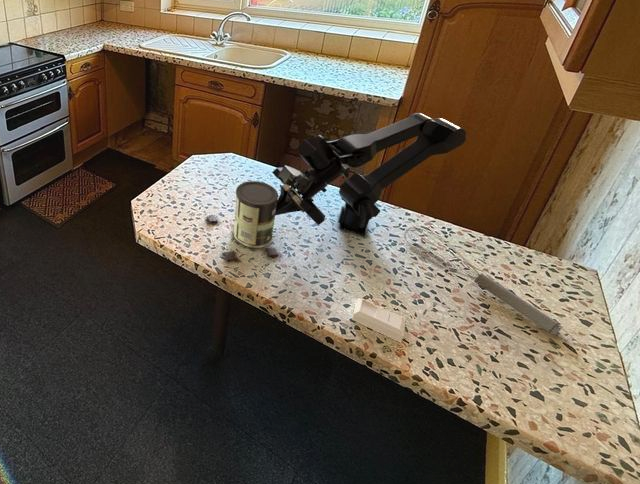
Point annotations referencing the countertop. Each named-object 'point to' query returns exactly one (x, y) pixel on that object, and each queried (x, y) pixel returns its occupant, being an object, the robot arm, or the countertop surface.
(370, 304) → the soap bar
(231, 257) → the tabs
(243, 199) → the coffee can
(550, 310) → the countertop surface
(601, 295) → the countertop surface
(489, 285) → the kitchen whisk
